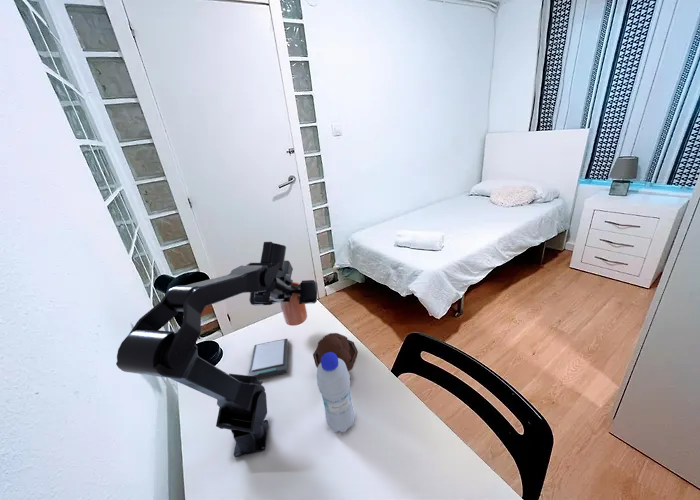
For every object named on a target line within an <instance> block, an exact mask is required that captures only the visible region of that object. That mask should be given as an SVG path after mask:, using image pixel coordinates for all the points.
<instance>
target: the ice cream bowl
mask: <svg viewBox="0 0 700 500" xmlns="http://www.w3.org/2000/svg"><path fill="white" fill-rule="evenodd" d="M328 352H332V353H335V354H336V355H337V357H338V358H340V359H342V360H343V361H344V362H345V364H346V367H347V370H348V372H350V371H352V370H353V368H354V366H355V363H356V362H357V361H356V360H357V359H358V354H359V351H358V348H357V346H356V344H355V342H354V341H352V340H350V339H348V337H347V336H345V335H343V334H340V333H338V332H332V333H331V332H330V333H328V334H326V335H324V336H323V337H322V338H321V339H320V340H319V341H318V342H317V346H316V348H315V350H314V352H313V354H312V356H313V361H314V365H315V367H316V369H317V368H318V366H319V364H320V363H321V358H322V356H323V355H324V354H325V353H328ZM350 381H351V377H350Z"/></svg>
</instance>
